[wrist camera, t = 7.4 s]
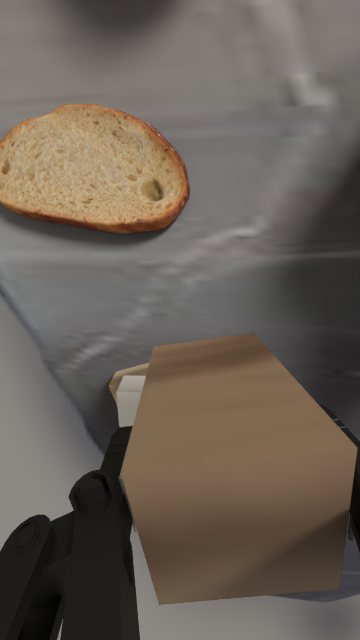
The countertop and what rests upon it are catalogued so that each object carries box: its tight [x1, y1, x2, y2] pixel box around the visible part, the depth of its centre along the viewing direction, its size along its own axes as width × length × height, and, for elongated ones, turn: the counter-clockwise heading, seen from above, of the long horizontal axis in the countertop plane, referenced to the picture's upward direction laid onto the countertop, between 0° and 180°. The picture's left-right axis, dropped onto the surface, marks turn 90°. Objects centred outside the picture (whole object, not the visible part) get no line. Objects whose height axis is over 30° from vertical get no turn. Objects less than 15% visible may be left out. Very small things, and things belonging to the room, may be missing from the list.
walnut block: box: [121, 333, 357, 605], centre depth 10 cm, size 6×6×8 cm
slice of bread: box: [0, 104, 190, 233], centre depth 24 cm, size 18×18×4 cm
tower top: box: [116, 375, 146, 427], centre depth 29 cm, size 11×11×4 cm
